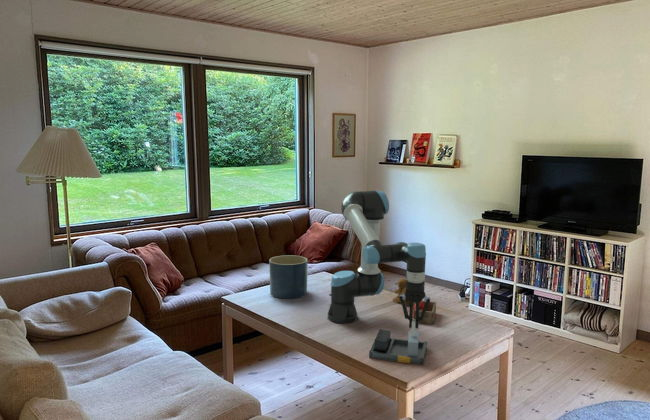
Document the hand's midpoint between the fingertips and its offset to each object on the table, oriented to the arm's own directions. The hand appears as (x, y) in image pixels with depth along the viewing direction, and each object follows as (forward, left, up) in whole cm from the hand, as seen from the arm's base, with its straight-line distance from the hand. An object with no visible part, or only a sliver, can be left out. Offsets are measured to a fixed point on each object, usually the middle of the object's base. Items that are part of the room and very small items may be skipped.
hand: (413, 335), depth 206 cm
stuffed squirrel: (-12, +65, -9) cm, 67 cm away
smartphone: (-49, +71, -9) cm, 86 cm away
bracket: (+1, +46, -9) cm, 46 cm away
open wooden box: (+1, +46, -9) cm, 46 cm away
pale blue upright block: (0, 0, -8) cm, 8 cm away
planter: (-79, +62, -9) cm, 101 cm away
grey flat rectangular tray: (-6, 0, -9) cm, 10 cm away
